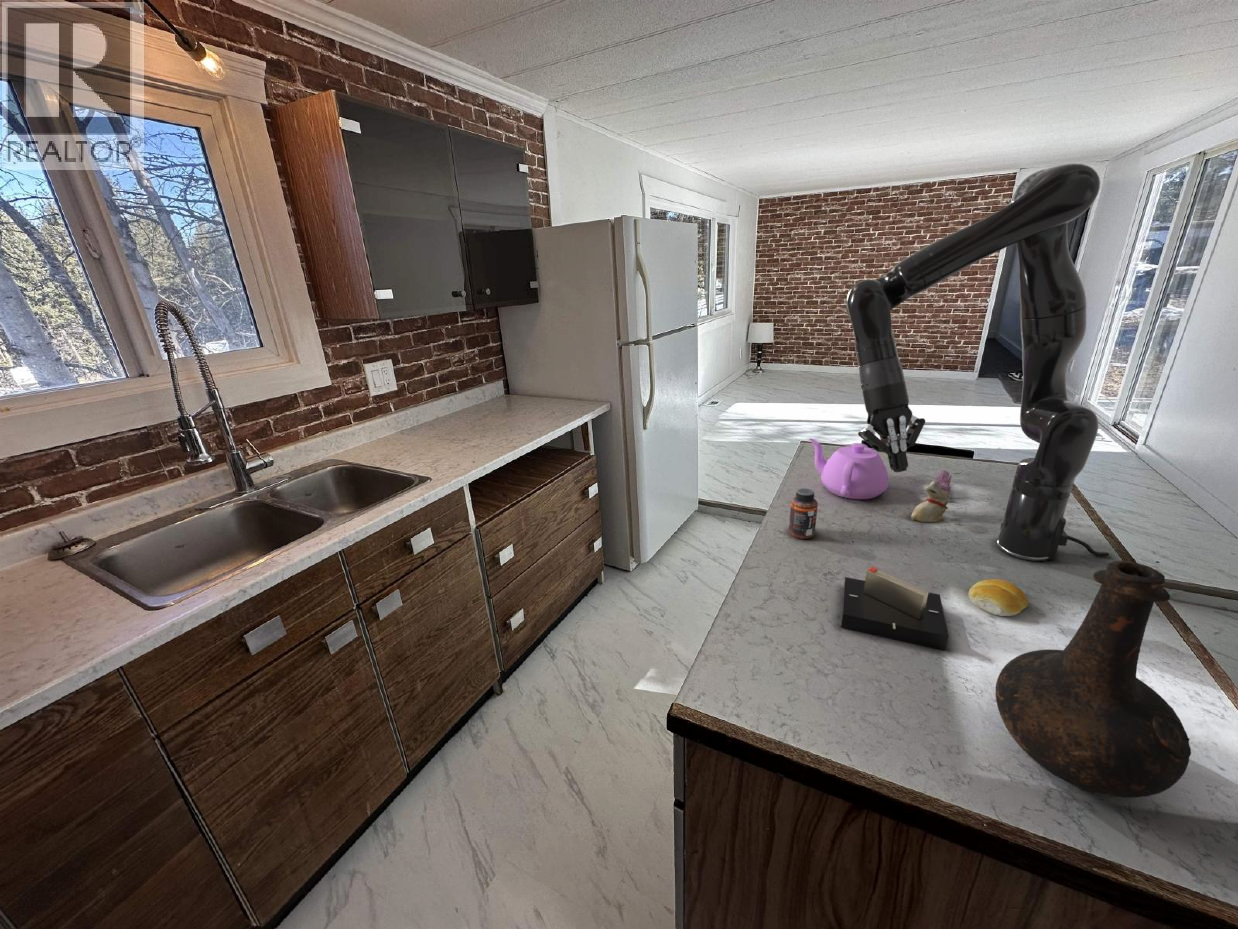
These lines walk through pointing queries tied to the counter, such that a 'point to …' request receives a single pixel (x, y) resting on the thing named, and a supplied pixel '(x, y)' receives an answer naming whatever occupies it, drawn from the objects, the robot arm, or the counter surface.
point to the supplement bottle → (803, 514)
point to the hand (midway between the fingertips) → (900, 471)
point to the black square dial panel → (893, 618)
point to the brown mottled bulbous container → (1099, 697)
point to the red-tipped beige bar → (895, 592)
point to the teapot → (852, 471)
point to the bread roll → (998, 597)
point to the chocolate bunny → (932, 505)
